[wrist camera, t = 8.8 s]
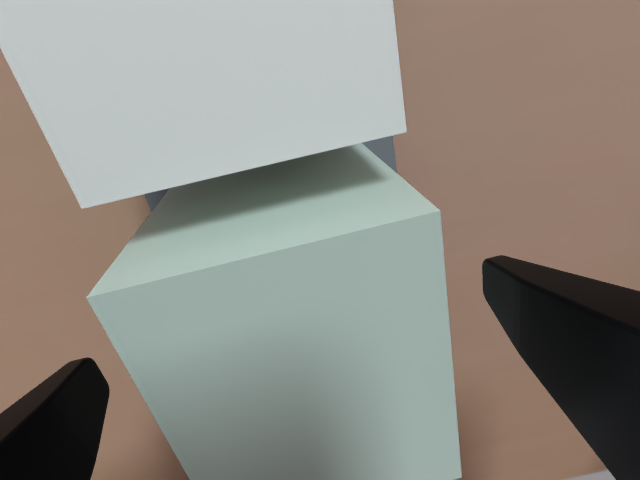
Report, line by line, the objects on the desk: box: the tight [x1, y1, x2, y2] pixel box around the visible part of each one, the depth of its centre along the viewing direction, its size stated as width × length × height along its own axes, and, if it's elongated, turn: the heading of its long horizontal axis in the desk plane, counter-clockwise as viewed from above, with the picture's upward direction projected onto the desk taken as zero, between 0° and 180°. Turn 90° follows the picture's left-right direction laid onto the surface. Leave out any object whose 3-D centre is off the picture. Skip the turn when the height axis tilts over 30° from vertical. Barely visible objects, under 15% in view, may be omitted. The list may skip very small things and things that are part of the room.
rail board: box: [0, 0, 407, 211], centre depth 11 cm, size 19×8×7 cm, turn 12°
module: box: [86, 143, 462, 480], centre depth 10 cm, size 6×5×7 cm
